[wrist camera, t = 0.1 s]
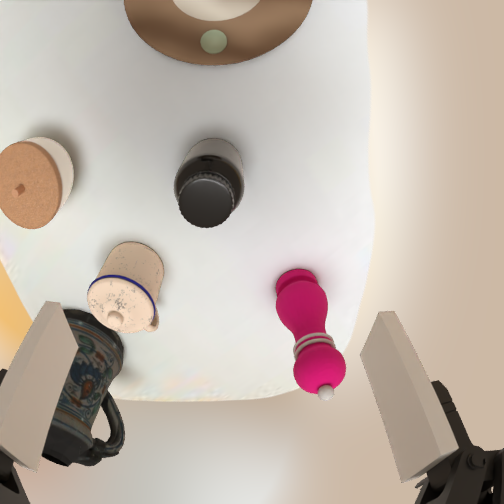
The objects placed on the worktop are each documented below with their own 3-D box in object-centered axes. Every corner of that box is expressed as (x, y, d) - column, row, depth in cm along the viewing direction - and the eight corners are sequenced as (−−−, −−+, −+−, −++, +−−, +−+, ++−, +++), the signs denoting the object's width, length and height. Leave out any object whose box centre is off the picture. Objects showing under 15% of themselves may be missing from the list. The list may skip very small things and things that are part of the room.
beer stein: (45, 295, 44) (-15, 412, 23) (146, 328, 49) (118, 466, 28) (52, 351, 52) (14, 451, 31) (136, 379, 57) (117, 489, 36)
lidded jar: (92, 201, 37) (61, 234, 29) (32, 206, 36) (-3, 238, 28) (81, 122, 31) (42, 138, 23) (19, 136, 31) (-23, 155, 23)
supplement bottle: (185, 137, 34) (164, 163, 24) (243, 138, 34) (249, 164, 24) (185, 191, 37) (168, 237, 27) (240, 192, 38) (244, 239, 28)
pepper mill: (309, 257, 44) (351, 370, 27) (325, 291, 47) (365, 399, 30) (264, 278, 45) (282, 397, 28) (284, 310, 49) (307, 421, 32)
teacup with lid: (95, 253, 41) (65, 305, 31) (145, 229, 40) (120, 282, 30) (138, 311, 47) (122, 367, 37) (186, 294, 46) (177, 353, 36)
